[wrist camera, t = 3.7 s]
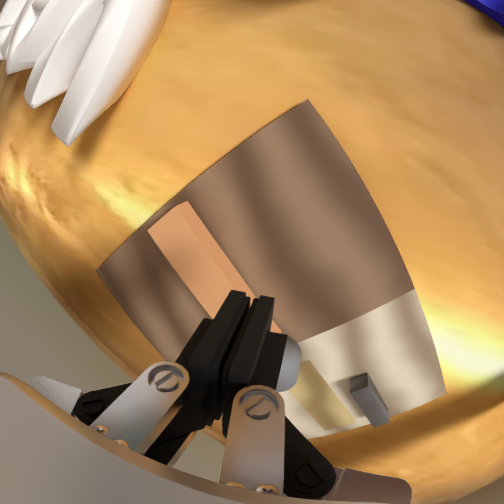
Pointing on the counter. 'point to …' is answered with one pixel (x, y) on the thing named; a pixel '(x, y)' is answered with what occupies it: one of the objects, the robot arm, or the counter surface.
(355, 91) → the counter surface
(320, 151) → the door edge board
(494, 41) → the counter surface
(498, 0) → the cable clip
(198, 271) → the bar
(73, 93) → the wavy white extrusion
